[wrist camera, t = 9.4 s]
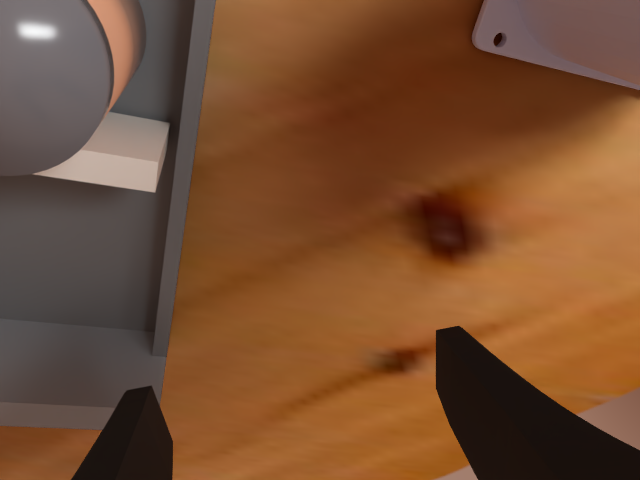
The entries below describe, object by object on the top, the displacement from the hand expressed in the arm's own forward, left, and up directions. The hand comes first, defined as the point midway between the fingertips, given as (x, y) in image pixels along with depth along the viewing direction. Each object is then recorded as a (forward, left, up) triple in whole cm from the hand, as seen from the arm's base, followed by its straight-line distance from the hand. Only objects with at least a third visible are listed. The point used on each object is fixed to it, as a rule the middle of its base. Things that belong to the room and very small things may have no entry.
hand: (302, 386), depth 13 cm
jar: (+8, -6, -10) cm, 14 cm away
